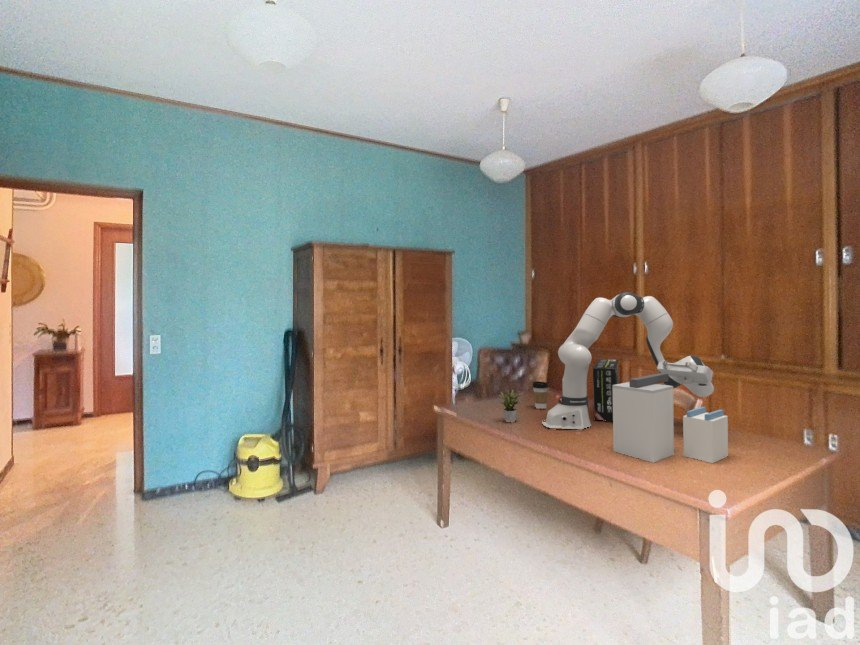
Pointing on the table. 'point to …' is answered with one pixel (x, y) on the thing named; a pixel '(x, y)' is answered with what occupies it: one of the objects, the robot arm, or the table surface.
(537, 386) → the coffee cup
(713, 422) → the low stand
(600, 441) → the table surface
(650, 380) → the dark grey bar
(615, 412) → the tall stand
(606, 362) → the router box
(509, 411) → the house plant
